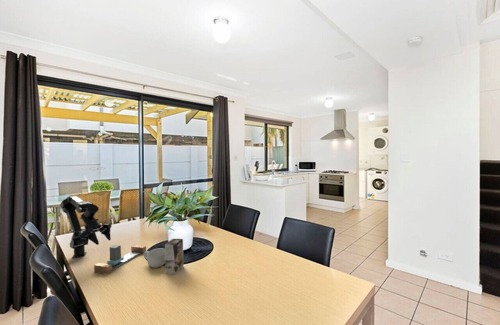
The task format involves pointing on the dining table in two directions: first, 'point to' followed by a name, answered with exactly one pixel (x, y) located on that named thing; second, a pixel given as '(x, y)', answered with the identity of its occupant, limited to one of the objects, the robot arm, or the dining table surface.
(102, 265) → the rail
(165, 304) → the dining table surface
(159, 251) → the teacup
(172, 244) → the coffee box
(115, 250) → the grey teal block
